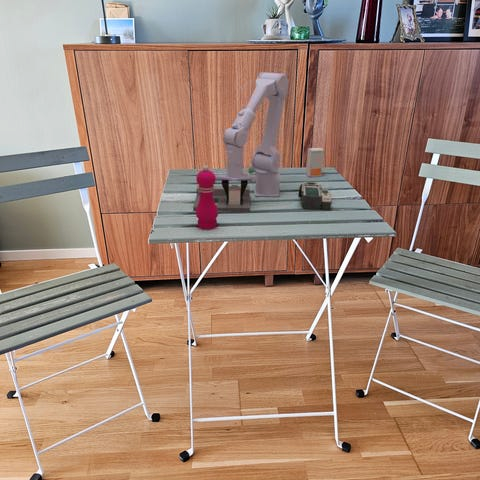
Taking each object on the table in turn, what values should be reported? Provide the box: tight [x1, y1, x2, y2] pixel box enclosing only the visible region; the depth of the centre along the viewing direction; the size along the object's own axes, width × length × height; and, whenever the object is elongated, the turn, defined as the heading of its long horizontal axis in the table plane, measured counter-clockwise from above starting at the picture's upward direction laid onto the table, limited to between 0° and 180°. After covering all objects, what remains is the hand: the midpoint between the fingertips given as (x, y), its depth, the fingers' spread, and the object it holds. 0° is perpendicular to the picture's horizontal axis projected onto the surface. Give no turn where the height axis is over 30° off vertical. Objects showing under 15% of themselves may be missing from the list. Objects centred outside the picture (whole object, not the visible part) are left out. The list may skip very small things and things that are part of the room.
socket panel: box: [192, 184, 251, 213], centre depth 148 cm, size 20×16×4 cm
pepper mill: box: [195, 164, 219, 230], centre depth 127 cm, size 7×7×20 cm
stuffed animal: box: [243, 163, 256, 182], centre depth 175 cm, size 11×7×12 cm
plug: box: [228, 184, 241, 205], centre depth 146 cm, size 4×5×7 cm
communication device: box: [297, 181, 332, 210], centre depth 153 cm, size 12×24×9 cm, turn 173°
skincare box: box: [305, 147, 325, 178], centre depth 178 cm, size 6×4×12 cm
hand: (234, 200), depth 147 cm, fingers closed on plug, 4 cm apart
